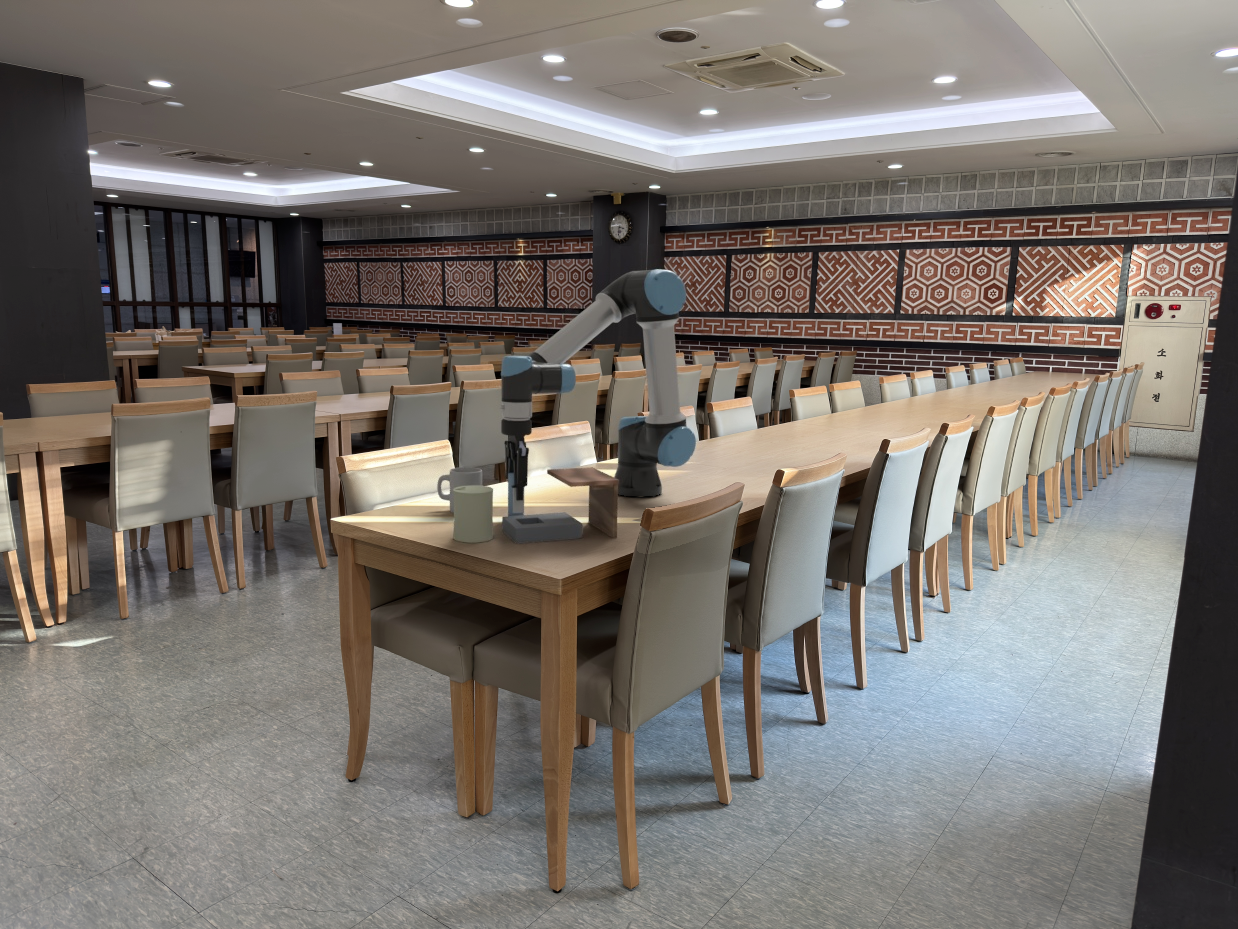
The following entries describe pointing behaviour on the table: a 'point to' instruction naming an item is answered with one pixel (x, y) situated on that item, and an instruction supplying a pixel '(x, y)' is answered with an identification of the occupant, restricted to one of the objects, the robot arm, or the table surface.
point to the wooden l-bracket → (595, 495)
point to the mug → (459, 481)
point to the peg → (511, 496)
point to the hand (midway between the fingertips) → (515, 510)
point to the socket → (541, 527)
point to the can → (473, 513)
